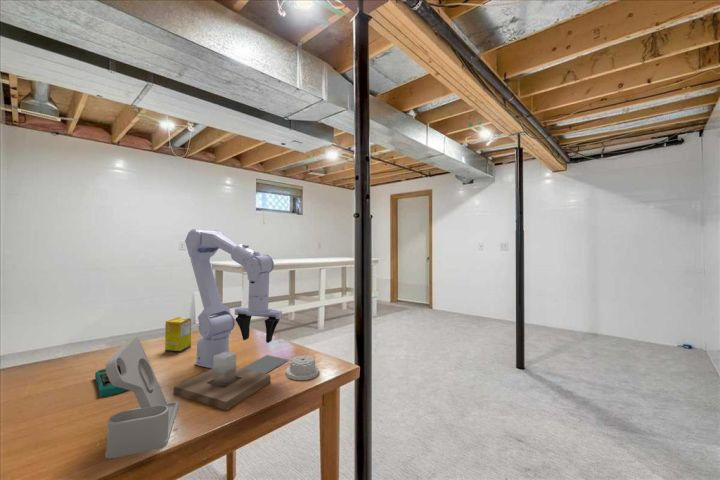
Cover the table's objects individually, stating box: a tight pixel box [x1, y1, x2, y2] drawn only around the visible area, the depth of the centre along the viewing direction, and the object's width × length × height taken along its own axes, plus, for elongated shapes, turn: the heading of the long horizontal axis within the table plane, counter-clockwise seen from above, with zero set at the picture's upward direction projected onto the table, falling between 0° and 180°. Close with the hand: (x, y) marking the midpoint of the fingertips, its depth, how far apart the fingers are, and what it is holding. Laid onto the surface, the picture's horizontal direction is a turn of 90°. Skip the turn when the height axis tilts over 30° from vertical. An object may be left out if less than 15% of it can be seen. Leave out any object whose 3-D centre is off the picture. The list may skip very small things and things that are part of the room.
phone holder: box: [104, 337, 180, 460], centre depth 65 cm, size 17×10×18 cm, turn 23°
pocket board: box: [173, 366, 271, 411], centre depth 83 cm, size 18×16×2 cm
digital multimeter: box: [94, 368, 127, 398], centre depth 84 cm, size 7×15×3 cm, turn 45°
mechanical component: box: [285, 354, 320, 381], centre depth 93 cm, size 10×4×10 cm
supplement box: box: [164, 317, 192, 354], centre depth 110 cm, size 6×6×11 cm
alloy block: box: [213, 351, 237, 388], centre depth 83 cm, size 4×4×9 cm
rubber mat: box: [242, 354, 289, 374], centre depth 98 cm, size 9×14×1 cm, turn 157°
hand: (257, 340), depth 91 cm, fingers open, 7 cm apart
